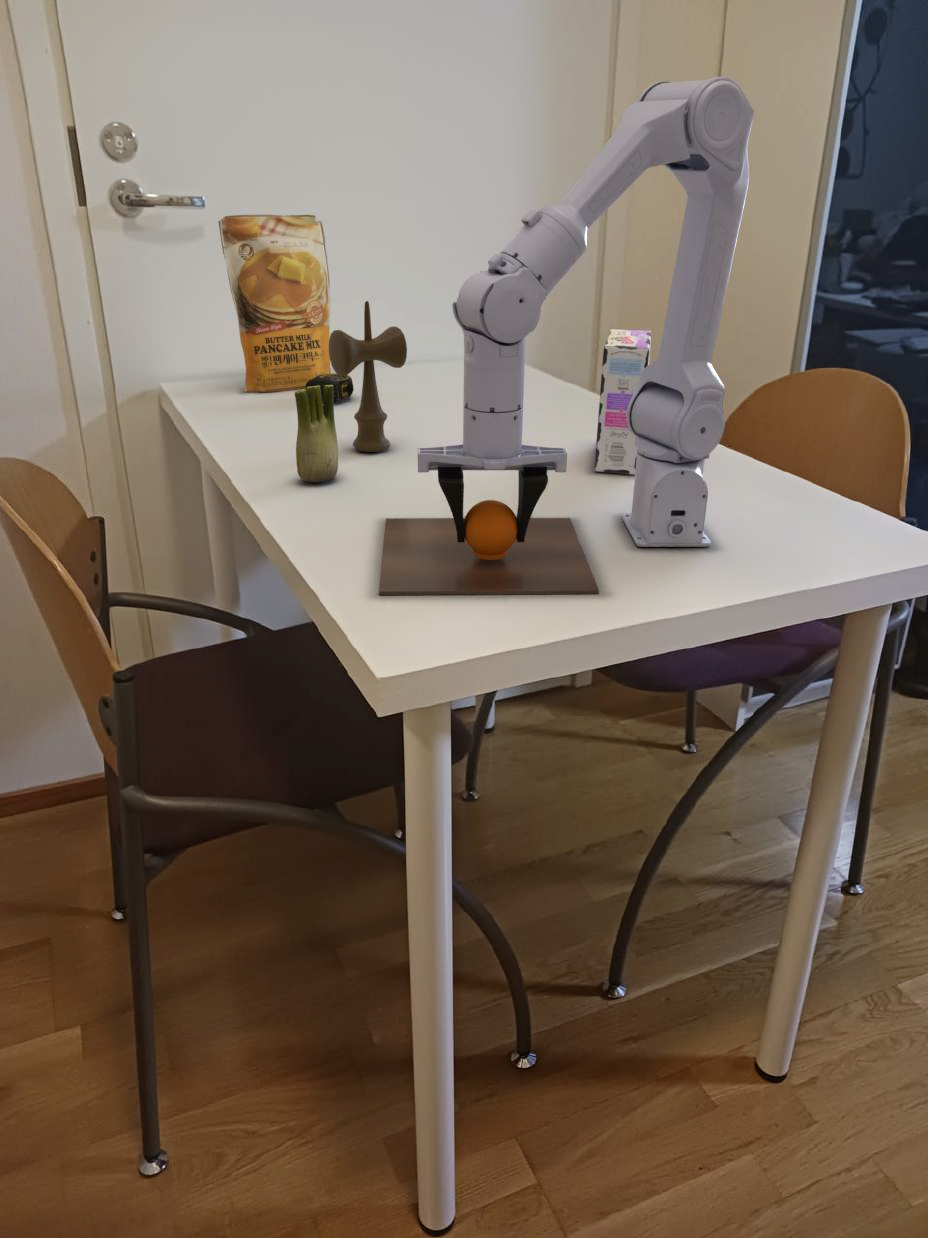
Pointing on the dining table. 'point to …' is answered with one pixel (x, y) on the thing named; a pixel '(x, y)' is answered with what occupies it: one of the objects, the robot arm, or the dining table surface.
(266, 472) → the dining table surface
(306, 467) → the fennel bulb
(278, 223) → the pancake mix bag
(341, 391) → the tape measure
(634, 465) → the candy box
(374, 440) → the kendama
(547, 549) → the front mat
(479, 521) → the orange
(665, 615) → the dining table surface
